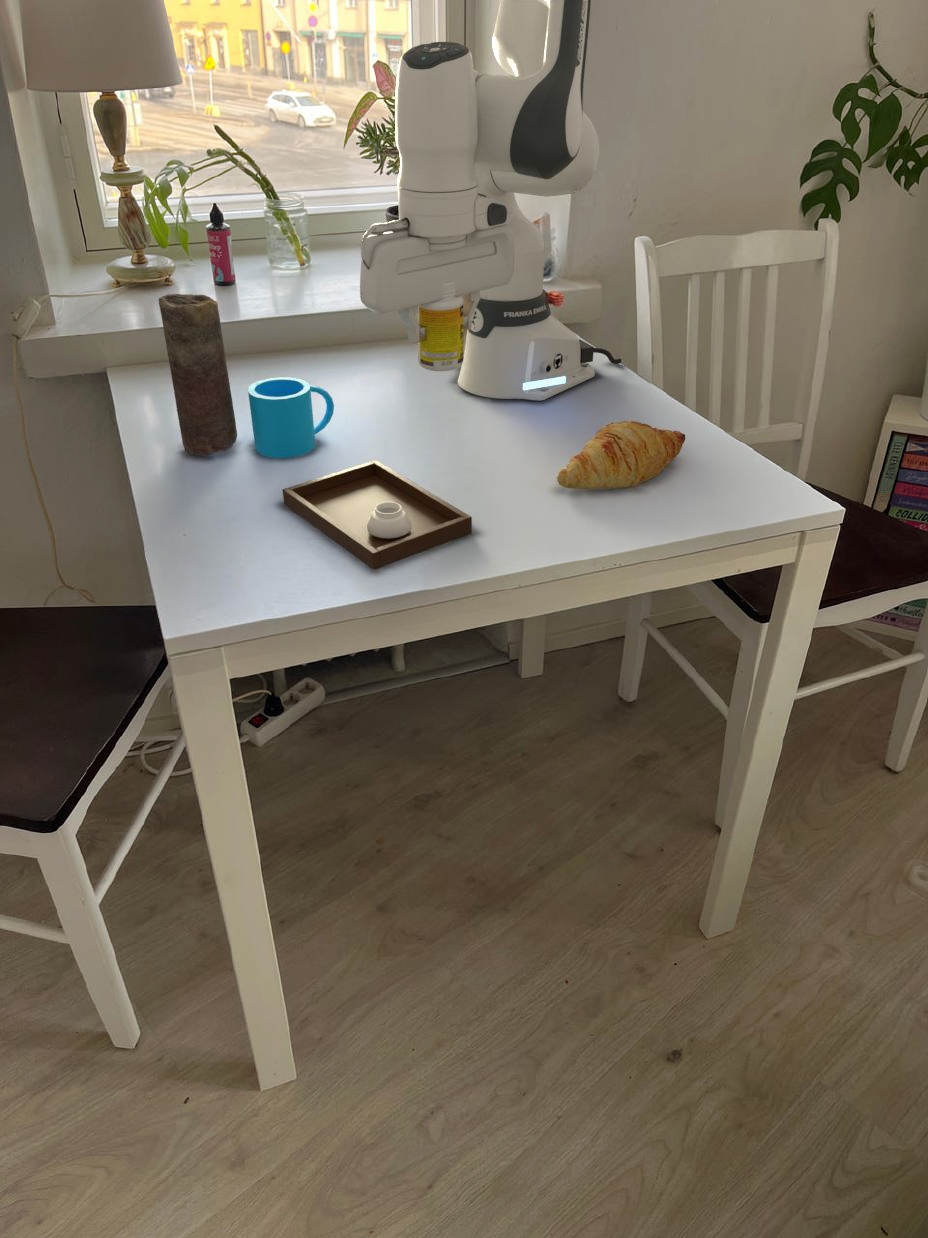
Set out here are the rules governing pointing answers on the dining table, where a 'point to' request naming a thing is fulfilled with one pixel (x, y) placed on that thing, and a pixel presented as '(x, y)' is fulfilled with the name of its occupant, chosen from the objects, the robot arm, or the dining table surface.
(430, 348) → the supplement bottle
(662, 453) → the croissant
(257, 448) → the mug
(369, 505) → the serving tray
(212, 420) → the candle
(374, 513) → the lidless jar
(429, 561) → the dining table surface
